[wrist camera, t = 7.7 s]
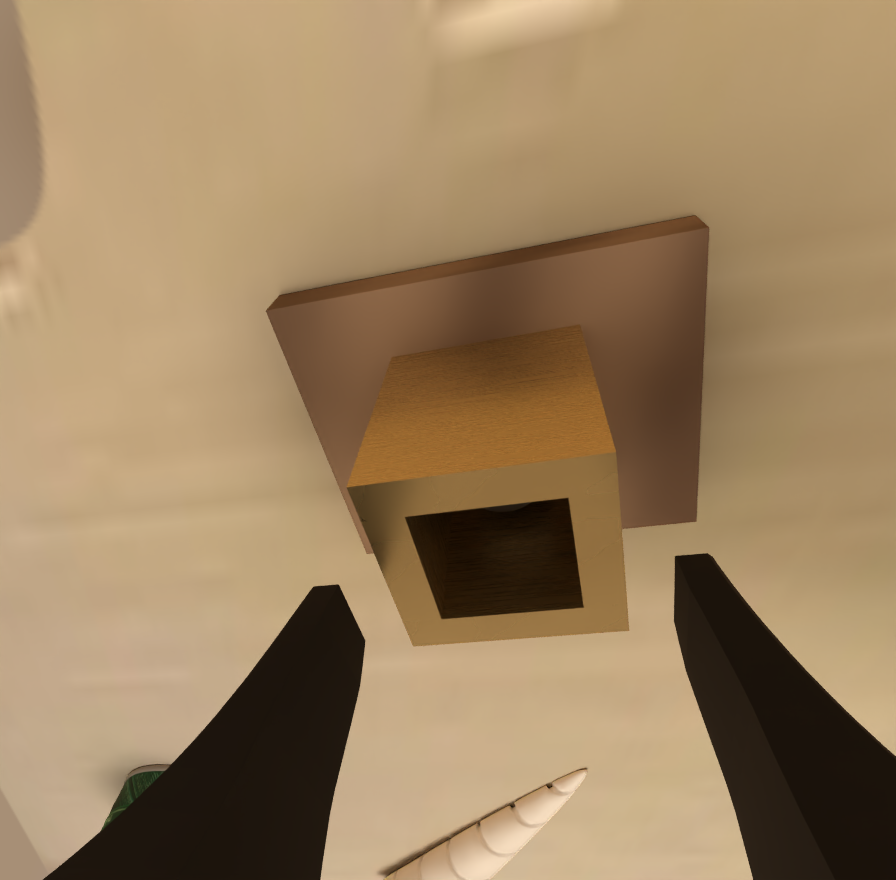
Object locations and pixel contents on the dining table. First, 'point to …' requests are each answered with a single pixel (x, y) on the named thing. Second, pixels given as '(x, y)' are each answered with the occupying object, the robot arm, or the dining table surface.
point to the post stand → (521, 312)
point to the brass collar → (494, 492)
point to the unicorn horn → (492, 837)
